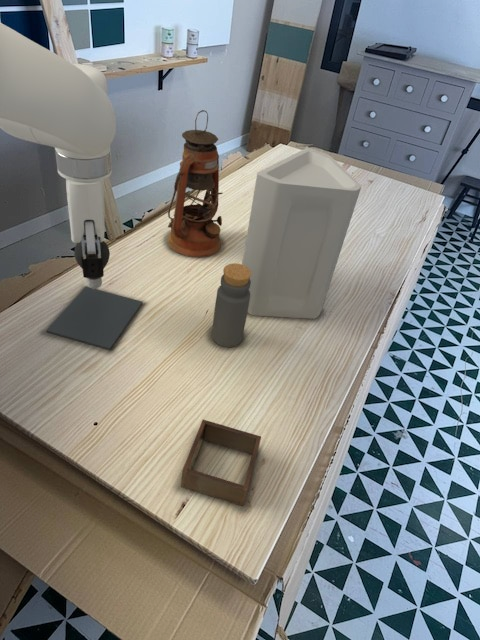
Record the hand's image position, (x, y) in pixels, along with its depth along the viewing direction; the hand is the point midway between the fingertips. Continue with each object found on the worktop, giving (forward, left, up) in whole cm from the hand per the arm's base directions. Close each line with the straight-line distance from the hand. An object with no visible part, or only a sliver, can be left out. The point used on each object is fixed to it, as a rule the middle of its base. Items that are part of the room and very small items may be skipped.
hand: (92, 264), depth 79 cm
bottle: (+4, -24, -12) cm, 27 cm away
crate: (-23, -31, -12) cm, 40 cm away
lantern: (+33, -8, -12) cm, 36 cm away
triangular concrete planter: (+20, -33, -12) cm, 41 cm away
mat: (0, 0, -12) cm, 12 cm away
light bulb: (0, 0, -5) cm, 5 cm away
